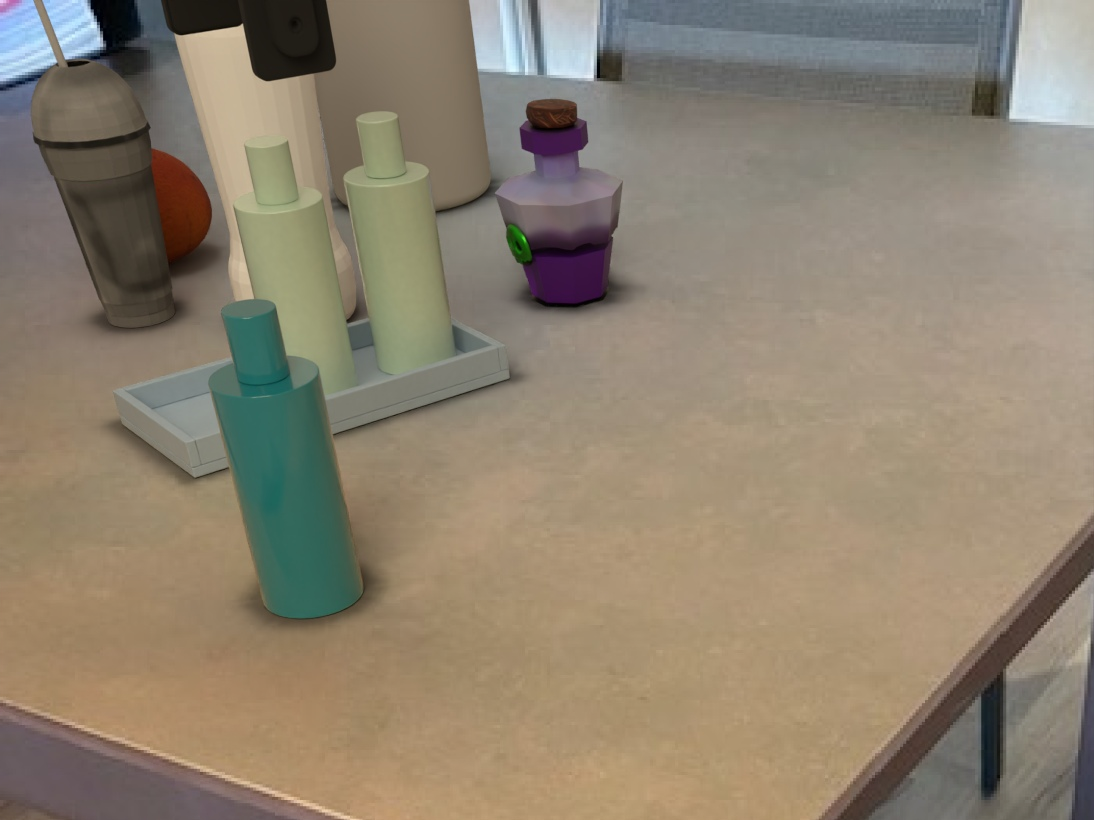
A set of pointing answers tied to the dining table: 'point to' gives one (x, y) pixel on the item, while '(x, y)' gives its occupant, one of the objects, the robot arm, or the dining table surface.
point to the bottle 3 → (398, 250)
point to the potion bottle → (560, 210)
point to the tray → (192, 429)
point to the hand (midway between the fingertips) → (250, 51)
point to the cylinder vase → (407, 90)
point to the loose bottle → (284, 468)
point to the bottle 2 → (294, 261)
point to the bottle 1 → (256, 135)
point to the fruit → (180, 205)
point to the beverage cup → (105, 182)
